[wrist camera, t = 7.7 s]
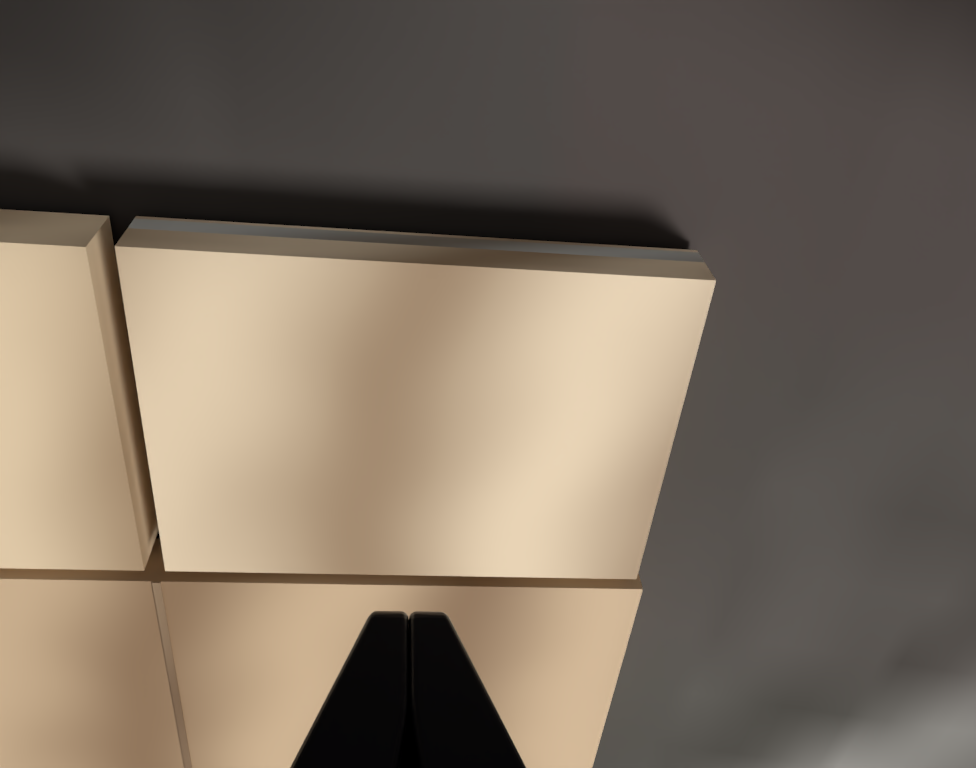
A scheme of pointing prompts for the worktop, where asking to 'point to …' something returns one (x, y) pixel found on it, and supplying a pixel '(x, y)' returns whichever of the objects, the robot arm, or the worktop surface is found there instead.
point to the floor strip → (280, 660)
